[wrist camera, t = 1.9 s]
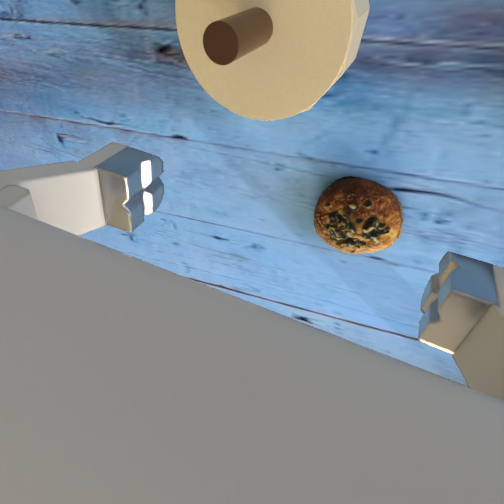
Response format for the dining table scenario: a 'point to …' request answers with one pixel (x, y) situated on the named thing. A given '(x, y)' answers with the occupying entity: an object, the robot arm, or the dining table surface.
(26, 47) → the dining table surface
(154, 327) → the robot arm
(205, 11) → the lid
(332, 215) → the bread roll
